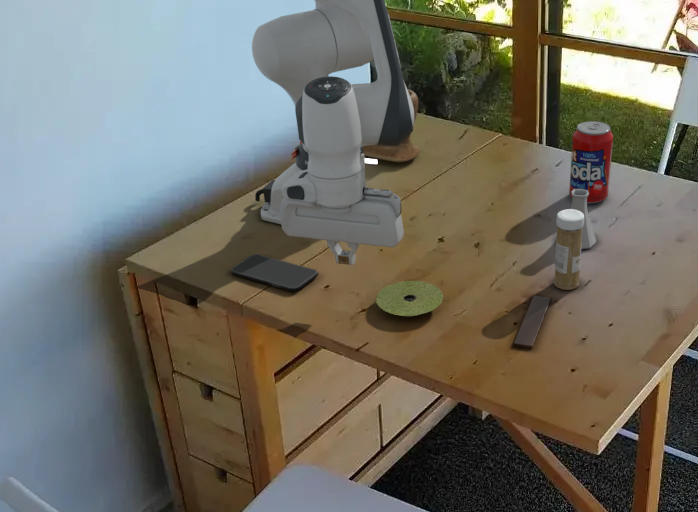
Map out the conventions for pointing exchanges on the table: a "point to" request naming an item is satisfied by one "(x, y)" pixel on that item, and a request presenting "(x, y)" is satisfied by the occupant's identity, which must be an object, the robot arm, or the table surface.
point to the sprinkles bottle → (568, 248)
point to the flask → (581, 205)
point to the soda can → (591, 160)
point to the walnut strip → (532, 322)
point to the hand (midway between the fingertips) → (346, 262)
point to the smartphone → (274, 272)
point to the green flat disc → (409, 298)
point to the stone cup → (396, 153)
